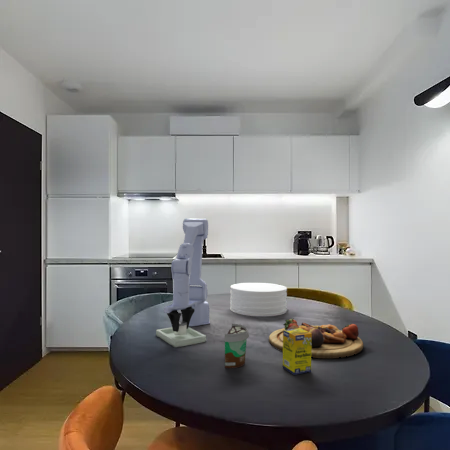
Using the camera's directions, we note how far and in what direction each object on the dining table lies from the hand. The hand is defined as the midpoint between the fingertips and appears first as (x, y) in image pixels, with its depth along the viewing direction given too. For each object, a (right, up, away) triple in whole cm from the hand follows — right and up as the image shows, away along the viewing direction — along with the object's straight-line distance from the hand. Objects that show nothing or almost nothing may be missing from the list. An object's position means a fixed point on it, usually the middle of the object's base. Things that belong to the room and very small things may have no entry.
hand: (180, 329), depth 126 cm
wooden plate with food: (+48, -4, -3) cm, 48 cm away
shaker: (0, -1, 0) cm, 1 cm away
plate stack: (+33, -5, +48) cm, 58 cm away
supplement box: (+36, -3, -27) cm, 46 cm away
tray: (0, -3, 0) cm, 3 cm away
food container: (+20, -3, -23) cm, 30 cm away
